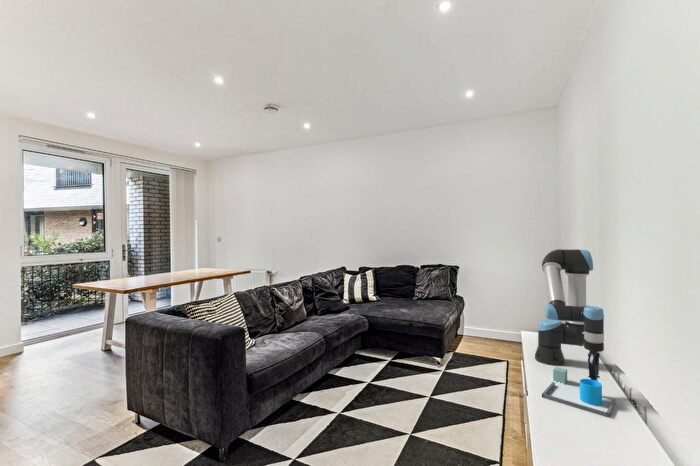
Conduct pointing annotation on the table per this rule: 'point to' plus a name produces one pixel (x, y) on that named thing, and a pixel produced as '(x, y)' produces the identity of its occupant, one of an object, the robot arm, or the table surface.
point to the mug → (591, 391)
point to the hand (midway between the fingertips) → (594, 391)
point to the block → (560, 375)
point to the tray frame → (606, 414)
